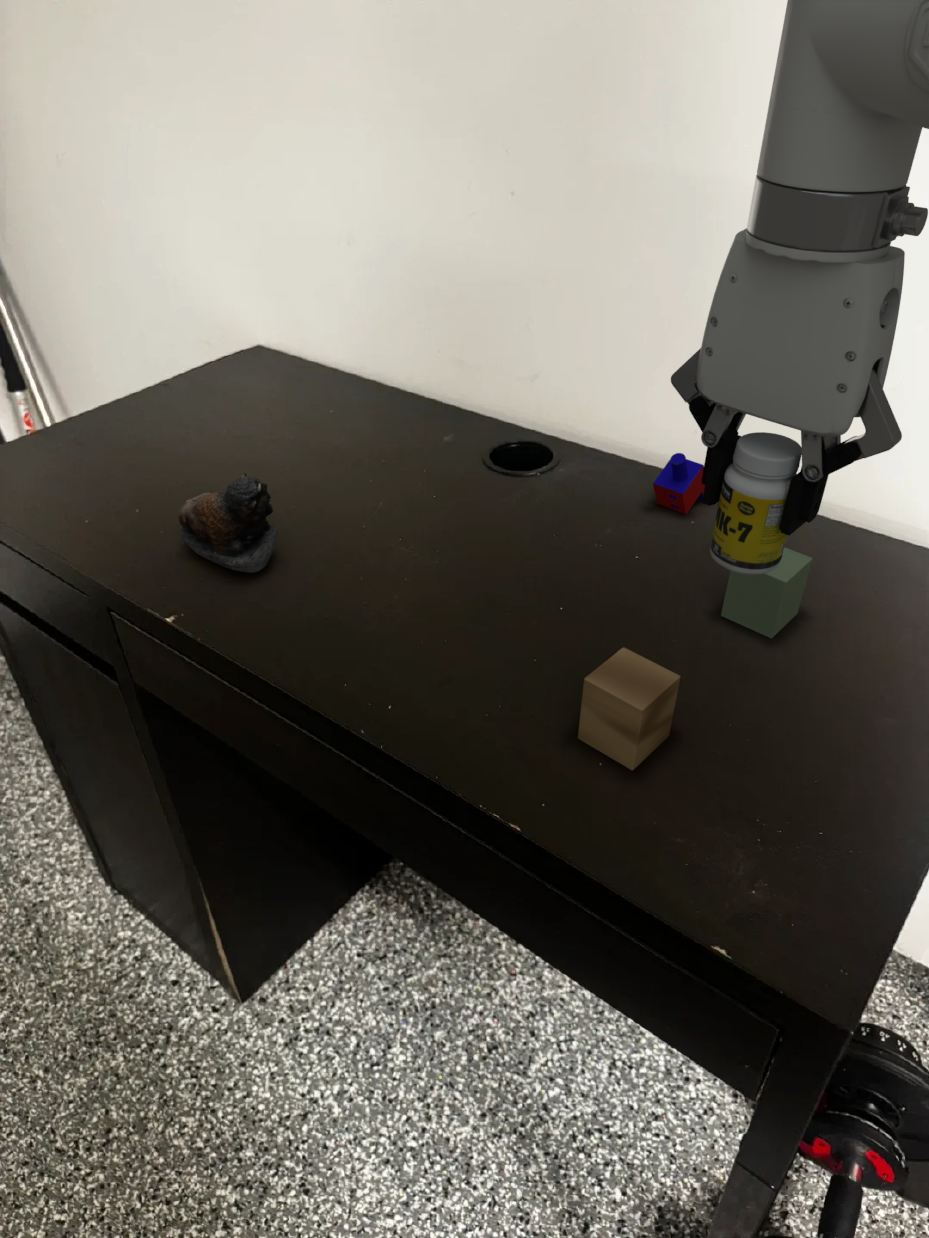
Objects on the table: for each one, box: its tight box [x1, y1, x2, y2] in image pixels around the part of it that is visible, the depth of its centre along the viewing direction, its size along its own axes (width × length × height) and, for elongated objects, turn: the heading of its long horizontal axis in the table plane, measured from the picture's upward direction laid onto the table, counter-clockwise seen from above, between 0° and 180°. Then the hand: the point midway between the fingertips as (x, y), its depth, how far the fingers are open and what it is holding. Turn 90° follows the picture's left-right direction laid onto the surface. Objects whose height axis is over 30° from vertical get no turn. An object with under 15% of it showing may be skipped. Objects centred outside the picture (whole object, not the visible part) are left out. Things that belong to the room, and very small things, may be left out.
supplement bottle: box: [709, 431, 802, 575], centre depth 58 cm, size 5×5×8 cm
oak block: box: [577, 646, 681, 771], centre depth 66 cm, size 5×5×6 cm
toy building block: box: [652, 452, 705, 515], centre depth 94 cm, size 4×4×8 cm
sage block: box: [720, 546, 813, 639], centre depth 78 cm, size 5×5×6 cm
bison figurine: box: [177, 472, 278, 574], centre depth 85 cm, size 12×7×10 cm, turn 50°
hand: (755, 509), depth 59 cm, fingers closed on supplement bottle, 4 cm apart
